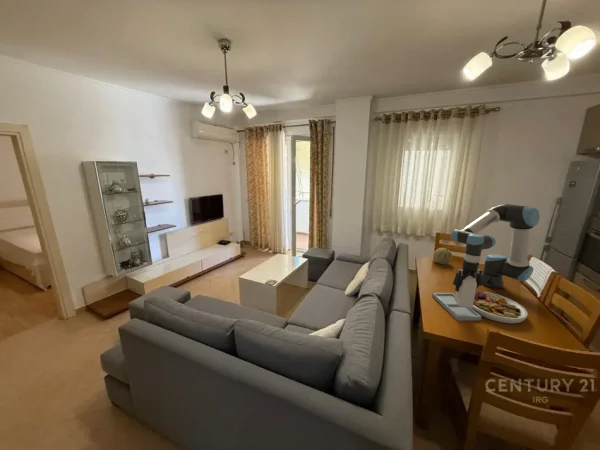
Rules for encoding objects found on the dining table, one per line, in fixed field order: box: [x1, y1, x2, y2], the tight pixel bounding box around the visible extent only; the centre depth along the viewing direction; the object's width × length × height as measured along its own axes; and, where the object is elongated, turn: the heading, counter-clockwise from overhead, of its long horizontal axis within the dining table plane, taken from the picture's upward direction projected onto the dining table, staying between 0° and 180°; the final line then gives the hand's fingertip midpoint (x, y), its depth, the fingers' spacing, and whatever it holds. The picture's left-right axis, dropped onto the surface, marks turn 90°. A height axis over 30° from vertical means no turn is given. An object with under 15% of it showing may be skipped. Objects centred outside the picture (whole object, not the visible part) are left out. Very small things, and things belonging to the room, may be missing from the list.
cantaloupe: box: [433, 247, 453, 265], centre depth 221 cm, size 15×15×15 cm
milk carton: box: [454, 274, 477, 307], centre depth 144 cm, size 7×7×19 cm
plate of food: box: [471, 290, 528, 324], centre depth 150 cm, size 30×30×8 cm
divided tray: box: [431, 292, 483, 322], centre depth 154 cm, size 14×27×3 cm, turn 1°
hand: (464, 296), depth 145 cm, fingers closed on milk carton, 8 cm apart
